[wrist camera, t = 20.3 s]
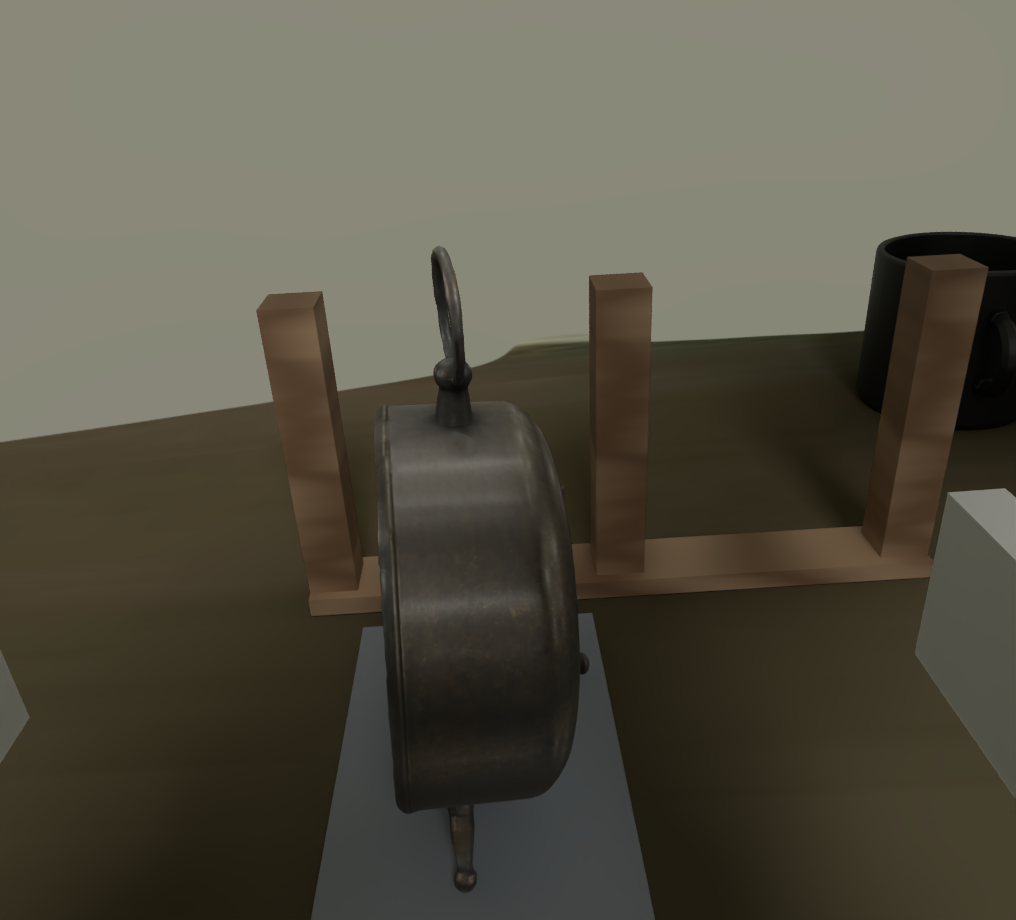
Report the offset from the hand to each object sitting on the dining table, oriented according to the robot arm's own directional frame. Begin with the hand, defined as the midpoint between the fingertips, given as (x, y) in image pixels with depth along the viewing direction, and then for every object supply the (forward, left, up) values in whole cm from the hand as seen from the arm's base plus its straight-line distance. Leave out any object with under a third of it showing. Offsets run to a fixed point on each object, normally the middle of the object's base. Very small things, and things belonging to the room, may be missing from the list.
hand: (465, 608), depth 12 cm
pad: (+1, -10, -14) cm, 17 cm away
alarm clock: (0, -10, -14) cm, 17 cm away
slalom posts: (-5, -21, -14) cm, 26 cm away
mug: (-27, -36, -15) cm, 47 cm away
